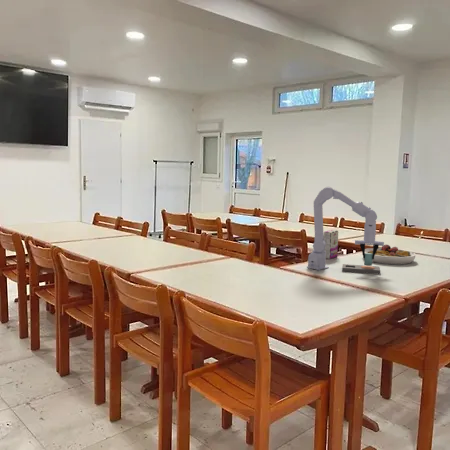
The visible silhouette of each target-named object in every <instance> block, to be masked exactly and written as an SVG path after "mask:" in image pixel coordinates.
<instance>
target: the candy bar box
mask: <svg viewBox="0 0 450 450" xmlns="http://www.w3.org/2000/svg"><path fill="white" fill-rule="evenodd" d="M323 234H324V240H325V242H326V246H325V251H326V259H327V260H332V259H334V258H336V257H338V252H339V250H338V248H339V230H336V229H331V230H327V231H323Z"/></svg>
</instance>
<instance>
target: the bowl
mask: <svg viewBox="0 0 450 450" xmlns="http://www.w3.org/2000/svg"><path fill="white" fill-rule="evenodd" d="M361 253H362V252H361ZM365 253H371V254H373V247H372V248H365ZM362 255H363V253H362ZM415 259H416V253H415V252H413V251H409V250H403V249H399V248H398V247H397V246H393V247H391V245H389V244H384V246H381V247H380V248H379V247H378V249H377V251H376V253H375V256H374V259H372V263H377V264H385V265H407V264H410V263H412V262H414V260H415Z"/></svg>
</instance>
